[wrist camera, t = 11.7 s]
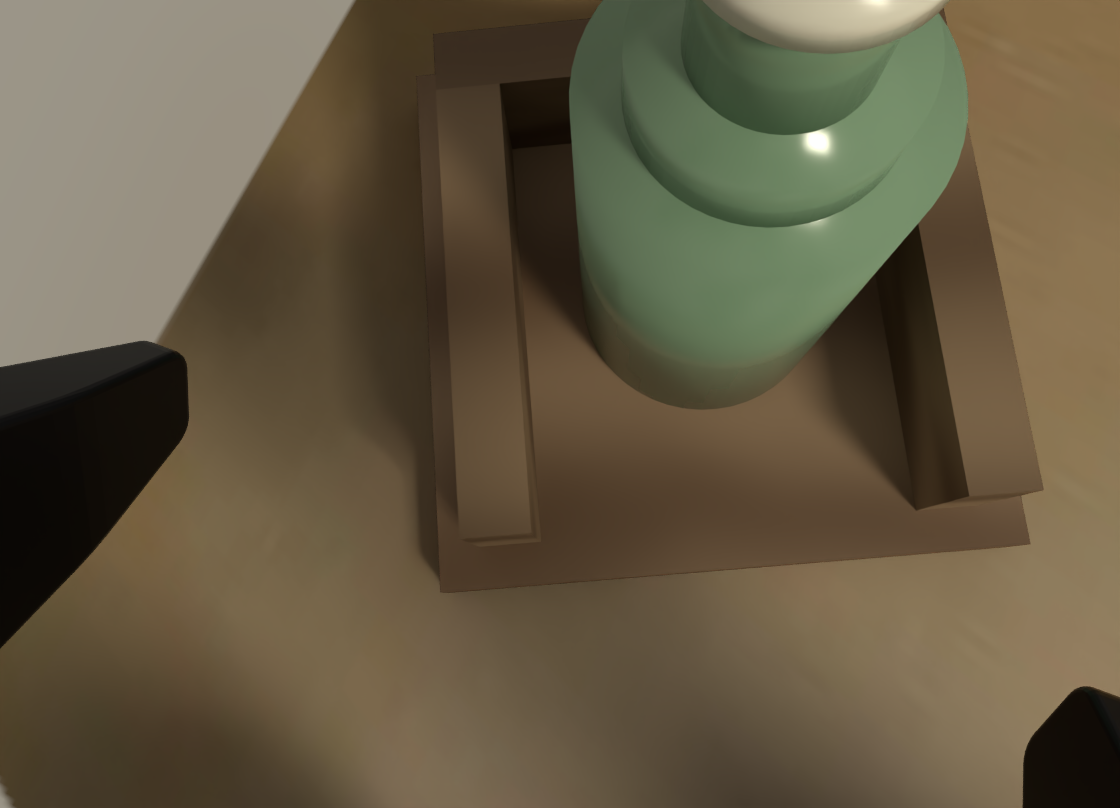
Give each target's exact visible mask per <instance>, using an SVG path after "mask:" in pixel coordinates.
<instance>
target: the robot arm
mask: <svg viewBox="0 0 1120 808" xmlns="http://www.w3.org/2000/svg"><path fill="white" fill-rule="evenodd" d="M188 421H189V405H188V377H187V364H186V361H185V359H184V357H183V356H182V355H181V354H180V353H178V352H177V351H174V350H171V349H169V348H166V347H163V346H160V345H158V344H155V343H152V342H148V341H138V342H133V343H127V344H122V345H116V346H111V347H106V348H100V349H95V350H90V351H85V352H79V353H74V354H68V355H63V356H58V357H52V358H47V359H42V360H36V361H31V362H26V363H21V364H15V365H10V366H4V367H0V648H1V647H2V646H3V645H4V644H5V643H6V642H7V641H8V640H9V639H10V638H11V637H12V636H13V635H14V634H15V633H16V632H17V631H18V630H19V629H20V628H21V627H22V626H23V625H24V623H25V622H26V621H27V620H28V619H29V618H30V617H31V616H32V615H33V614H34V613H35V612H36V611H37V610H38V609H39V608H40V607H41V606H42V605H43V604H44V603H45V602H46V601H47V600H48V599H49V598H50V597H51V596H52V595H53V594H54V592H55V591H56V590H57V589H58V588H59V587H60V586H61V585H62V584H63V583H64V582H65V581H66V580H67V579H68V578H69V577H70V576H71V575H72V574H73V573H74V572H75V571H76V570H77V569H78V568H79V566H80V565H81V564H82V563H83V562H84V561H85V560H86V559H87V558H88V557H89V556H90V554H91V553H92V552H93V551H94V550H95V549H96V548H97V546H98V545H99V544H100V543H101V542H102V540H103V539H104V538H105V537H106V536H107V534H108V533H109V532H110V531H111V529H112V528H113V527H114V526H115V524H116V523H117V522H118V521H119V519H120V518H121V517H122V515H123V514H124V513H125V512H126V510H127V509H128V508H129V506H130V505H131V504H132V503H133V501H134V500H135V499H136V497H137V496H138V495H139V494H140V492H141V491H142V490H143V489H144V487H145V486H146V485H147V483H148V482H149V481H150V480H151V478H152V477H153V476H154V474H155V473H156V472H157V471H158V469H159V468H160V467H161V466H162V464H163V463H164V462H165V460H166V459H167V458H168V457H169V455H170V454H171V453H172V451H173V450H174V449H175V448H176V446H177V445H178V444H179V442H180V441H181V439H182V438H183V436H184V434H185V432H186V429H187V426H188ZM1023 808H1120V697H1118V696H1115V695H1112V694H1110V693H1107V692H1104V691H1101V690H1099V689H1096V688H1093V687H1087V686H1083V687H1079V688H1077V689H1075V690H1073V691H1072V692H1071V693H1070V694H1069V695H1068V696H1067V697H1066V698H1065V700H1064V701H1063V702H1062V703H1061V704H1060V705H1059V706H1058V707H1057V709H1056V710H1055V711H1054V712H1053V713H1052V714H1051V715H1050V716H1049V718H1048V719H1047V720H1046V721H1045V722H1044V723H1043V724H1042V725H1041V727H1040V728H1039V729H1038V730H1037V731H1036V732H1035V733H1034V735H1033V736H1032V737H1031V739H1030V741H1029V743H1028V745H1027V748H1026V751H1025V755H1024V763H1023Z"/></svg>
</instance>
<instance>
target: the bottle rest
mask: <svg viewBox="0 0 1120 808" xmlns="http://www.w3.org/2000/svg"><path fill="white" fill-rule="evenodd" d="M939 14H940V16H941V17H942V19H943V20H944V22H945V23H946V25H947V22H946V17H945V13H944V8H943V9H942V10H941V11H940V12H939ZM590 19H591V18H589V19H579V20H569V21H559V22H549V23H539V24H529V25H519V26H509V27H499V28H489V29H479V30H469V31H459V32H449V33H439V34H433V41H434V60H435V74H432V75H422V76H417V98H418V119H419V141H420V162H421V184H422V205H423V227H424V248H425V270H426V291H427V313H428V334H429V356H430V377H431V399H432V420H433V442H434V463H435V485H436V506H437V528H438V549H439V571H440V592H442V593H451V592H463V591H475V590H488V589H500V588H512V587H524V586H537V585H549V584H561V583H573V582H585V581H598V580H610V579H622V578H634V577H647V576H659V575H671V574H683V573H695V572H708V571H720V570H732V569H744V568H756V567H769V566H781V565H793V564H805V563H818V562H830V561H842V560H854V559H866V558H879V557H891V556H903V555H915V554H928V553H940V552H952V551H964V550H976V549H989V548H1001V547H1011V546H1019V545H1028V544H1030V539H1029V534H1028V529H1027V524H1026V519H1025V514H1024V509H1023V504H1022V499H1021V495H1025V494H1029V493H1033V492H1037V491H1042V490H1044V489H1043V484H1042V479H1041V475H1040V470H1039V465H1038V460H1037V455H1036V451H1035V446H1034V441H1033V436H1032V431H1031V427H1030V422H1029V417H1028V412H1027V407H1026V402H1025V398H1024V393H1023V388H1022V383H1021V378H1020V374H1019V369H1018V364H1017V359H1016V354H1015V350H1014V345H1013V340H1012V335H1011V330H1010V325H1009V321H1008V316H1007V311H1006V306H1005V301H1004V297H1003V292H1002V287H1001V282H1000V277H999V273H998V268H997V263H996V258H995V253H994V248H993V244H992V239H991V234H990V229H989V224H988V220H987V215H986V210H985V205H984V200H983V196H982V191H981V186H980V181H979V176H978V171H977V167H976V162H975V157H974V152H973V147H972V143H971V138H970V133H969V128H968V123H967V127H966V134H965V140H964V144H963V147H962V150H961V153H960V157H959V160H958V163H957V166H956V168H955V170H954V172H953V174H952V176H951V178H950V180H949V182H948V184H947V186H946V188H945V189H944V190H943V192H942V193H941V195H940V196H939V198H938V199H937V201H936V202H935V204H934V205H933V206H932V208H931V209H930V210H929V211H928V212H927V213H926V215H925V216H924V217H923V218H922V219H921V220H920V222H919V223H918V224H917V225H916V226H915V227H914V229H913V230H912V231H911V232H910V233H909V234H908V236H907V237H906V238H905V239H904V240H903V241H902V243H901V244H900V245H899V246H898V247H897V248H896V250H895V251H894V252H893V253H892V254H891V255H890V257H889V258H888V259H887V260H886V261H885V262H884V264H883V265H882V266H881V267H880V268H879V269H878V271H877V272H876V273H875V274H874V275H873V276H872V278H871V279H870V280H869V281H868V282H867V283H866V285H865V286H864V287H863V288H862V289H861V290H860V292H859V293H858V294H857V295H856V296H855V297H854V299H853V300H852V301H851V302H850V303H849V304H848V306H847V307H846V308H845V309H844V310H843V311H842V313H841V314H840V315H839V316H838V317H837V318H836V320H835V321H834V322H833V323H832V324H831V325H830V327H829V328H828V329H827V330H826V331H825V332H824V334H823V335H822V336H821V337H820V338H819V339H818V341H817V342H816V343H815V344H814V345H813V346H812V348H811V349H810V350H809V351H808V352H807V353H806V355H805V356H804V357H803V358H802V359H801V360H800V362H799V363H798V364H797V365H796V366H795V367H794V368H793V370H792V371H791V372H790V373H789V374H788V375H787V376H786V377H785V378H784V379H783V380H782V381H780V382H779V383H778V384H777V385H776V386H774V387H773V388H772V389H770V390H768V391H767V392H765V393H763V394H762V395H760V396H758V397H756V398H754V399H751V400H749V401H747V402H744V403H741V404H738V405H734V406H731V407H725V408H719V409H706V410H696V409H686V408H680V407H675V406H671V405H667V404H664V403H661V402H658V401H656V400H653V399H651V398H649V397H647V396H645V395H643V394H641V393H639V392H638V391H636V390H635V389H633V388H632V387H630V386H629V385H627V384H626V383H625V382H624V381H622V380H621V379H620V378H619V377H618V376H617V375H616V374H615V373H614V372H613V371H612V370H611V369H610V368H609V366H608V365H607V364H606V363H605V362H604V360H603V359H602V357H601V356H600V354H599V353H598V351H597V350H596V348H595V346H594V344H593V341H592V339H591V337H590V335H589V332H588V329H587V325H586V322H585V317H584V311H583V303H582V288H581V274H580V259H579V244H578V229H577V214H576V200H575V185H574V170H573V155H572V140H571V125H570V106H569V88H570V79H571V70H572V66H573V62H574V58H575V54H576V50H577V47H578V44H579V42H580V40H581V37H582V35H583V33H584V30H585V28H586V26H587V24H588V22H589V21H590Z"/></svg>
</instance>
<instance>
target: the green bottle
mask: <svg viewBox="0 0 1120 808" xmlns="http://www.w3.org/2000/svg"><path fill="white" fill-rule="evenodd" d="M949 1H950V0H603V1H602V2H601V3H600V5H599V6H598V7H597V9H596V11H595V12H594V14H593V16H592V17H591V19H590V21H589V22H588V24H587V26H586V28H585V30H584V33H583V35H582V37H581V40H580V42H579V44H578V47H577V50H576V54H575V58H574V62H573V66H572V70H571V79H570V88H569V106H570V125H571V140H572V155H573V170H574V185H575V200H576V214H577V229H578V244H579V259H580V274H581V288H582V303H583V311H584V317H585V322H586V325H587V329H588V332H589V335H590V337H591V339H592V341H593V344H594V346H595V348H596V350H597V351H598V353H599V354H600V356H601V357H602V359H603V360H604V362H605V363H606V364H607V365H608V366H609V368H610V369H611V370H612V371H613V372H614V373H615V374H616V375H617V376H618V377H619V378H620V379H621V380H622V381H624V382H625V383H626V384H627V385H629V386H630V387H632V388H633V389H635V390H636V391H638V392H639V393H641V394H643V395H645V396H647V397H649V398H651V399H653V400H656V401H658V402H661V403H664V404H667V405H671V406H675V407H680V408H686V409H696V410H706V409H719V408H725V407H731V406H734V405H738V404H741V403H744V402H747V401H749V400H751V399H754V398H756V397H758V396H760V395H762V394H763V393H765V392H767V391H768V390H770V389H772V388H773V387H774V386H776V385H777V384H778V383H779V382H780V381H782V380H783V379H784V378H785V377H786V376H787V375H788V374H789V373H790V372H791V371H792V370H793V368H794V367H795V366H796V365H797V364H798V363H799V362H800V360H801V359H802V358H803V357H804V356H805V355H806V353H807V352H808V351H809V350H810V349H811V348H812V346H813V345H814V344H815V343H816V342H817V341H818V339H819V338H820V337H821V336H822V335H823V334H824V332H825V331H826V330H827V329H828V328H829V327H830V325H831V324H832V323H833V322H834V321H835V320H836V318H837V317H838V316H839V315H840V314H841V313H842V311H843V310H844V309H845V308H846V307H847V306H848V304H849V303H850V302H851V301H852V300H853V299H854V297H855V296H856V295H857V294H858V293H859V292H860V290H861V289H862V288H863V287H864V286H865V285H866V283H867V282H868V281H869V280H870V279H871V278H872V276H873V275H874V274H875V273H876V272H877V271H878V269H879V268H880V267H881V266H882V265H883V264H884V262H885V261H886V260H887V259H888V258H889V257H890V255H891V254H892V253H893V252H894V251H895V250H896V248H897V247H898V246H899V245H900V244H901V243H902V241H903V240H904V239H905V238H906V237H907V236H908V234H909V233H910V232H911V231H912V230H913V229H914V227H915V226H916V225H917V224H918V223H919V222H920V220H921V219H922V218H923V217H924V216H925V215H926V213H927V212H928V211H929V210H930V209H931V208H932V206H933V205H934V204H935V202H936V201H937V199H938V198H939V196H940V195H941V193H942V192H943V190H944V189H945V188H946V186H947V184H948V182H949V180H950V178H951V176H952V174H953V172H954V170H955V168H956V166H957V163H958V160H959V157H960V153H961V150H962V147H963V144H964V140H965V134H966V127H967V121H968V91H967V84H966V78H965V71H964V68H963V64H962V61H961V58H960V54H959V51H958V48H957V46H956V44H955V41H954V39H953V37H952V35H951V33H950V31H949V28H948V27H947V25H946V23H945V22H944V20H943V19H942V17H941V16H940V14H939V12H940V11H941V10H942V9H943V8H944V7H945V6H946V4H947V3H948V2H949Z"/></svg>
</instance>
